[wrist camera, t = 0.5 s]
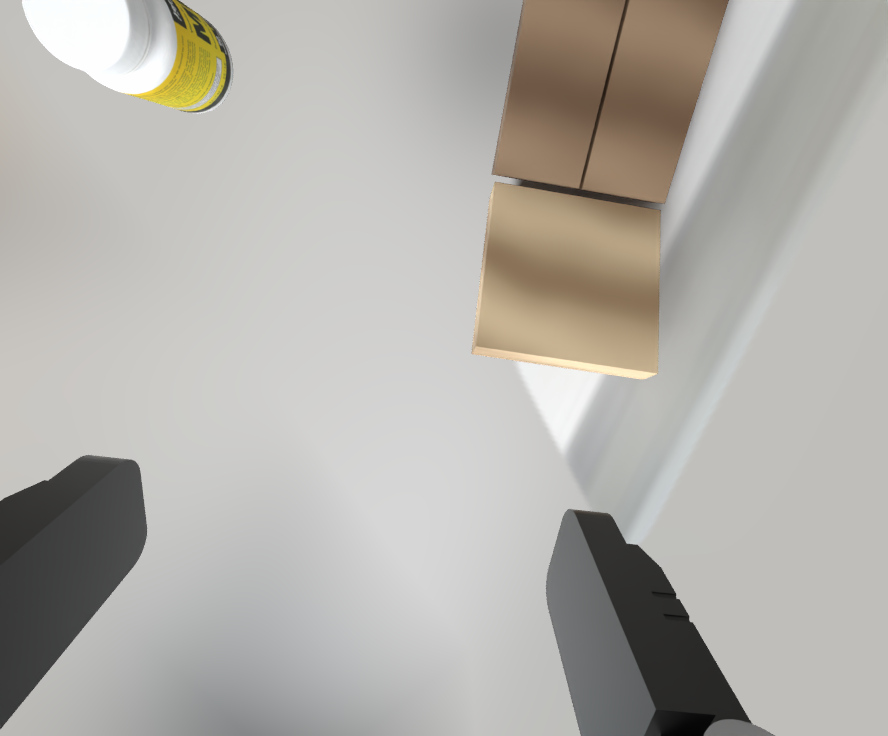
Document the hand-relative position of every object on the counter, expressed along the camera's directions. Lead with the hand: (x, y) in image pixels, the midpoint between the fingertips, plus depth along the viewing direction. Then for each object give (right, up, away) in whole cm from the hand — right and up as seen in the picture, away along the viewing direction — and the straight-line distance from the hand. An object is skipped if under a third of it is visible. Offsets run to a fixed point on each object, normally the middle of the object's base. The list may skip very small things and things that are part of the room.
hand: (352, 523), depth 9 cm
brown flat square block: (+10, +18, +17) cm, 27 cm away
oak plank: (+9, +8, +17) cm, 21 cm away
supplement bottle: (-12, +19, +16) cm, 28 cm away
